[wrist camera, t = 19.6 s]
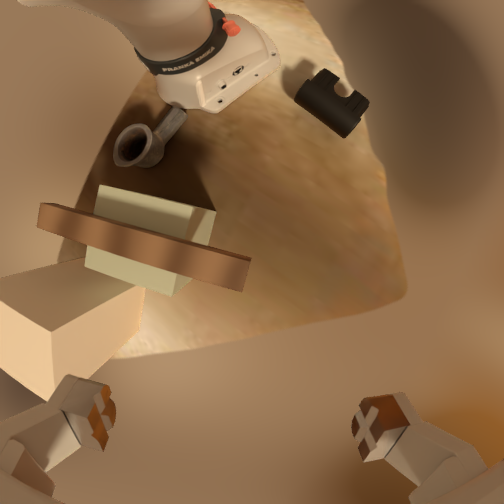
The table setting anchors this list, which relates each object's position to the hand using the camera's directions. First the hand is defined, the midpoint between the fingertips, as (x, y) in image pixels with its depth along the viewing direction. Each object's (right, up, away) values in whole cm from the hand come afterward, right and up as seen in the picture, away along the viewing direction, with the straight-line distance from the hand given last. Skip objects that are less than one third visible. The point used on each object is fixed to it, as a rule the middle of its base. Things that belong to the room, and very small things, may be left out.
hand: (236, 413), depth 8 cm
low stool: (-12, +8, +38) cm, 41 cm away
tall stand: (-25, -3, +39) cm, 47 cm away
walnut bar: (-13, +6, +22) cm, 26 cm away
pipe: (-15, +23, +37) cm, 46 cm away
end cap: (+13, +29, +35) cm, 47 cm away
